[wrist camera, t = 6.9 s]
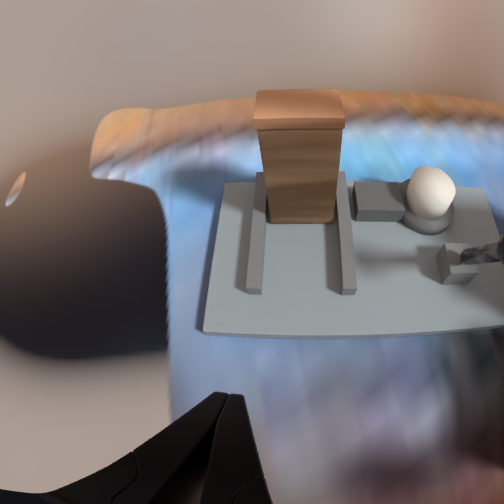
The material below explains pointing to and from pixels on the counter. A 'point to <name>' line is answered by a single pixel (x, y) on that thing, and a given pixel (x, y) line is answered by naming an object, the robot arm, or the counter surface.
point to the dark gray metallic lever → (484, 253)
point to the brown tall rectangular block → (300, 152)
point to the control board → (356, 264)
